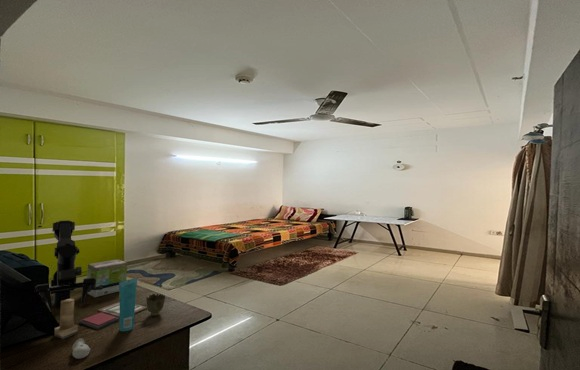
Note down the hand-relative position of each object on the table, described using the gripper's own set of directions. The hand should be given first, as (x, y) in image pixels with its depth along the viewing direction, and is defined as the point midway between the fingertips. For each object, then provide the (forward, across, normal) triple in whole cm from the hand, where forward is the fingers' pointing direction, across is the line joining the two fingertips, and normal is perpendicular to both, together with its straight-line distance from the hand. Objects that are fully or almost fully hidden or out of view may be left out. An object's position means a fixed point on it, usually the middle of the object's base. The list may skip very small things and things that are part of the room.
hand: (66, 308), depth 112 cm
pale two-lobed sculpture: (+20, +3, -7) cm, 22 cm away
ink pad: (+4, +11, +9) cm, 15 cm away
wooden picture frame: (-1, +21, +14) cm, 25 cm away
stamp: (+8, 0, +6) cm, 9 cm away
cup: (+8, +31, +5) cm, 32 cm away
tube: (+13, +18, 0) cm, 23 cm away
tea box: (-21, +19, +34) cm, 44 cm away
